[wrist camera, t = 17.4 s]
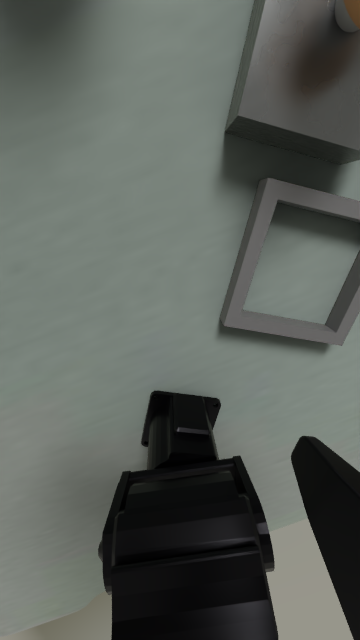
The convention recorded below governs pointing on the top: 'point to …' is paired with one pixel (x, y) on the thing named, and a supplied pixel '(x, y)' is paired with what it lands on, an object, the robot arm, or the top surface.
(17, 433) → the top surface
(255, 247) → the collar
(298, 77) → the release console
